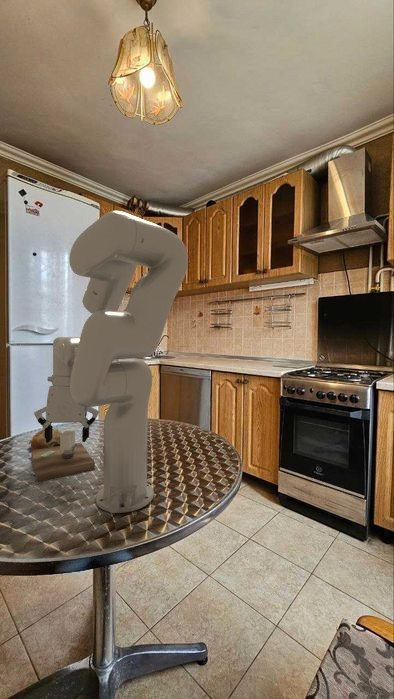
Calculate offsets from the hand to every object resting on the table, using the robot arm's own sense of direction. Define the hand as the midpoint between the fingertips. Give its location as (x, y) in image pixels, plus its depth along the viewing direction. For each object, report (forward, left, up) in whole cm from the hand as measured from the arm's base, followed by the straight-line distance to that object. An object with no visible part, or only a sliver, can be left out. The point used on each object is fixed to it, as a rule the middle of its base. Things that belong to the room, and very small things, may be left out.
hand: (67, 440), depth 85 cm
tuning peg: (+2, 0, -5) cm, 5 cm away
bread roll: (+14, +10, -7) cm, 19 cm away
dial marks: (+4, +3, -5) cm, 7 cm away
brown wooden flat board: (+1, +2, -7) cm, 7 cm away
